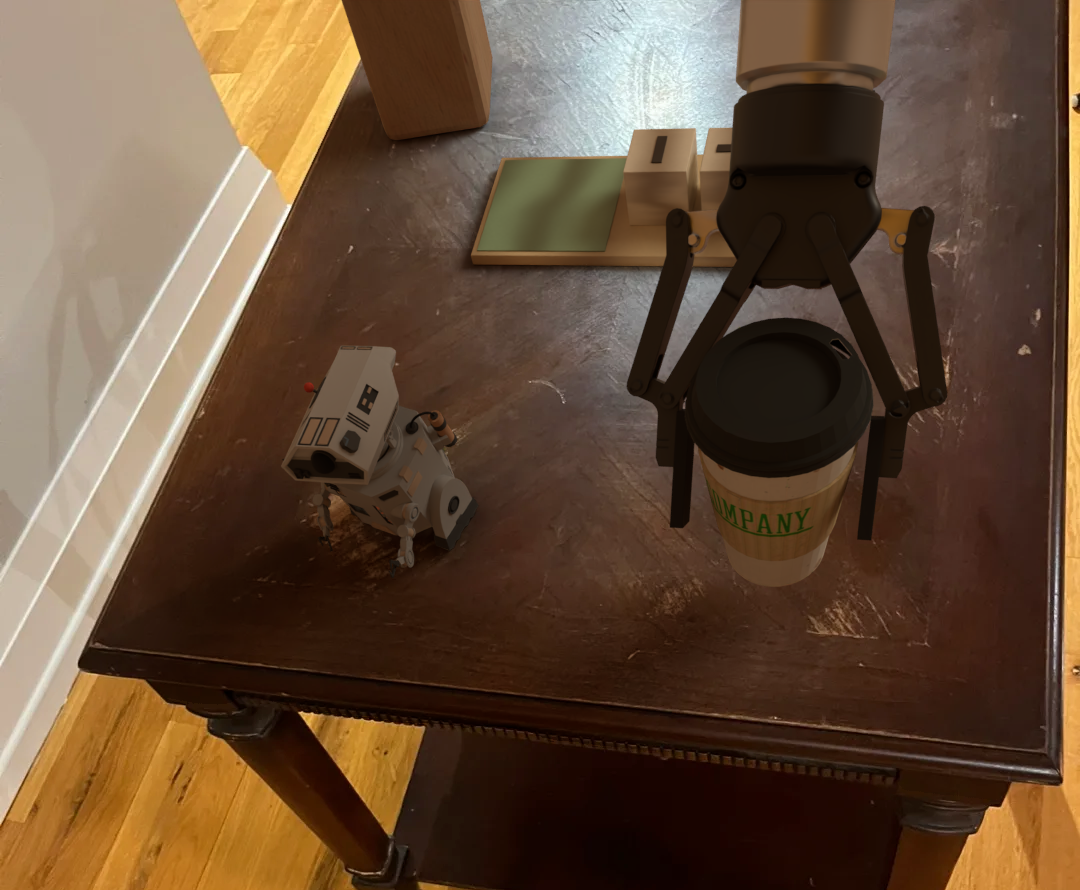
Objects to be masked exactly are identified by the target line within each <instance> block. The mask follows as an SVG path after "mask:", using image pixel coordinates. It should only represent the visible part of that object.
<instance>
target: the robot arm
mask: <svg viewBox="0 0 1080 890" xmlns="http://www.w3.org/2000/svg"><path fill="white" fill-rule="evenodd" d="M896 2H897V1H896V0H740V6H739V23H738V36H737V37H738V38H737V39H738V40H737V53H736V69H735V83H736V84H737V85H738V86H739V88H740V89H741V90H743V91H745V92H746V93H745V94H744V95H742V96H740V98H738V99H737V102H736V103H735V104H734V105H733V112H732V126H731V128H732V140H731V154H730V169H729V183H728V188H727V192H726V194H725V197H724V199H723V201H722V202H721V204H720V206H719V208H718V209H715V210H704V211H693V212H686V211H684V210H682V209H679V208H676V209H673V210H671V211H670V212H669V213H668V215H667V217H666V258H665V261H664V264H663V266H662V268H661V271H660V274H659V277H658V281H657V284H656V287H655V291H654V294H653V297H652V300H651V304H650V307H649V310H648V314H647V316H646V320H645V323H644V326H643V330H642V333H641V336H640V340H639V341H638V342H639V343H638V346H637V349H636V352H635V355H634V359H633V362H632V364H631V368H630V371H629V374H628V377H627V381H626V390H627V392H628V393H629V394H630V395H631V396H633V397H637V398H640V399H641V400H645V401H646V402H649V403H651V404H652V405H653V406H654V407H655V409H656V411H657V425H656V443H655V446H656V447H655V460H656V463H657V466H658V467H665V468H672V483H671V496H670V497H671V500H670V516H669V528H671V529H683V528H685V527H686V525H687V524H689V522H690V518H691V505H692V504H691V503H692V489H693V488H692V486H693V472H694V457H695V445H696V444H695V443H694V441H693V439H692V437H691V435H690V433H689V431H688V428H687V424H686V419H685V408H684V404H685V402H686V396H687V393H688V389H689V386H690V382H691V380H692V379H693V377H694V375H695V373H696V371H697V370H698V368H699V366H700V364H701V362H702V361H703V359H704V357H705V355H706V354H707V353H708V351H709V350H710V349H711V348H712V347H713V346H714V344H715V343H717V342H718V341H719V340H720V339H722V338H723V337H724V336H725V335H726V334H727V332H728V330H729V328H730V327H731V325H732V323H733V322H734V321H735V319H736V317H737V315H738V314H739V312H740V311H741V309H742V307H743V306H744V304H745V303H746V301H748V299H749V298H750V296H751V294H752V293H753V291H754V289H755V288H756V286H757V287H759V288H761V289H763V290H780V289H784V288H788V287H791V286H795V287H799V288H802V289H805V290H822V289H825V288H827V287H830V286H831V288H832V289H833V292H834V294H835V296H836V298H837V301H838V303H839V305H840V307H841V309H842V312H843V314H844V317H845V318H846V319H845V320H846V321H847V323H848V325H849V328H850V330H851V333H852V335H853V337H854V340H855V341H856V344H857V346H858V348H859V350H860V353H861V355H862V357H863V360H864V362H865V364H866V367H867V369H868V371H869V373H870V376H871V378H872V380H873V383H874V385H875V387H876V390H877V392H878V394H879V396H880V399H881V401H882V403H883V405H884V407H885V409H884V415H872V416H871V420H870V422H869V428H868V429H869V430H868V438H867V447H866V456H865V463H864V473H863V474H864V475H863V483H862V490H861V500H860V507H859V517H858V525H857V534H856V535H857V536H856V539H857V540H858V541H872V537H873V529H874V519H875V512H876V503H877V495H878V489H879V479H880V478H881V479H882V478H885V479H898V477H899V475H900V473H901V471H902V469H903V462H904V461H903V460H904V453H905V445H906V440H907V439H906V438H907V428H908V424H909V421H910V420H911V418H912V417H913V416H914V415H915V414H917V413H918V412H921V411H924V410H929V409H932V408H934V407H939V406H941V405H942V404H944V403H945V402H946V400H947V398H948V388H947V381H946V380H947V379H946V374H945V367H944V360H943V353H942V346H941V339H940V332H939V325H938V318H937V312H936V304H935V297H934V290H933V284H932V276H931V271H930V263H929V258H928V257H929V256H928V254H929V250H930V245H931V240H932V235H933V231H934V224H935V220H936V218H935V217H936V216H935V215H936V214H935V212H934V210H933V209H932V208H931V207H930V206H927V205H922V206H918V207H916V208H914V209H907V208H906V209H904V208H891V207H882V205H881V202H880V200H879V197H878V195H877V191H876V184H877V183H876V182H877V181H876V180H877V171H878V165H879V164H878V163H879V155H880V144H881V136H882V135H881V134H882V126H883V117H884V108H885V102H884V100H883V99H881V98H882V97H881V95H880V94H879V93H878V92H876V90H875V89H876V88H878V87H879V86H880V85H881V84H882V83H883V82H884V81H886V80H887V77H888V70H889V69H888V68H889V60H890V52H891V51H890V50H891V42H892V34H893V26H894V18H895V17H894V16H895V8H896ZM716 231H720V233H721V235H722V236H723V238H724V240H725V241H726V243H727V245H728V246H729V248H730V250H731V251H732V253H733V255H734V256H735V258H736V260H737V261H736V263H735V265H734V266H733V267H731V269H730V271H729V273H728V275H727V276H726V278H725V279H724V282H723V283H722V285H721V288H720V290H719V292H718V294H716V297H715V299H714V300H713V302H712V303H711V305H710V307H709V309H708V310H707V312H706V313H705V315H704V317H703V319H702V320H701V322H700V324H699V325H698V327H697V329H696V330H695V332H694V333H693V335H692V337H691V338H690V340H689V341H688V343H687V345H686V347H685V349H684V350H683V352H682V354H681V355H680V356H679V359H678V360H677V361H676V363H675V366H674V367H673V368H672V370H671V372H670V374H669V375H668V377H667V378H666V380H665V381H664V380H662V379H660V378H659V374H660V371H661V368H662V365H663V362H664V359H665V356H666V352H667V350H668V346H669V344H670V340H671V337H672V334H673V331H674V327H675V325H676V321H677V318H678V316H679V312H680V309H681V306H682V302H683V300H684V296H685V293H686V290H687V287H688V283H689V280H690V278H691V275H692V271H693V267H694V266H693V262H694V256H695V254H699V253H701V252H703V251H704V250H705V248H706V246H707V243H708V239H709V237H710V236H711V235H712V233H714V232H716ZM877 231H882V232H883V233H885V235H886V237H887V238H888V246H889V248H890V251H891V252H892V253H894V254H896V255H902V256H901V257H902V258H901V268H902V277H903V283H904V284H903V285H904V290H905V298H906V303H907V310H908V317H909V324H910V330H911V337H912V343H913V348H914V349H913V350H914V356H915V362H916V363H915V364H916V368H917V369H916V370H917V376H918V383H919V385H918V386H914V387H911V388H907V389H905V388H904V385H903V383H902V381H901V379H900V377H899V374H898V372H897V370H896V368H895V364H894V363H893V360H892V358H891V355H890V353H889V351H888V349H887V346H886V344H885V342H884V340H883V337H882V335H881V332H880V331H879V330H880V329H879V328H878V326H877V323H876V321H875V319H874V317H873V314H872V312H871V309H870V307H869V304H868V302H867V300H866V299H865V295H864V294H863V292H862V291H863V290H862V288H861V286H860V284H859V282H858V279H857V277H856V275H855V272H854V270H853V267H852V266H851V264H852V263H853V261H854V260H855V259H856V258H857V256H858V255H859V254H860V252H861V251H863V249H864V248H865V246H866V244H868V243H869V241H870V240H871V239H872V237H873V236H874V235H876V232H877Z"/></svg>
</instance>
